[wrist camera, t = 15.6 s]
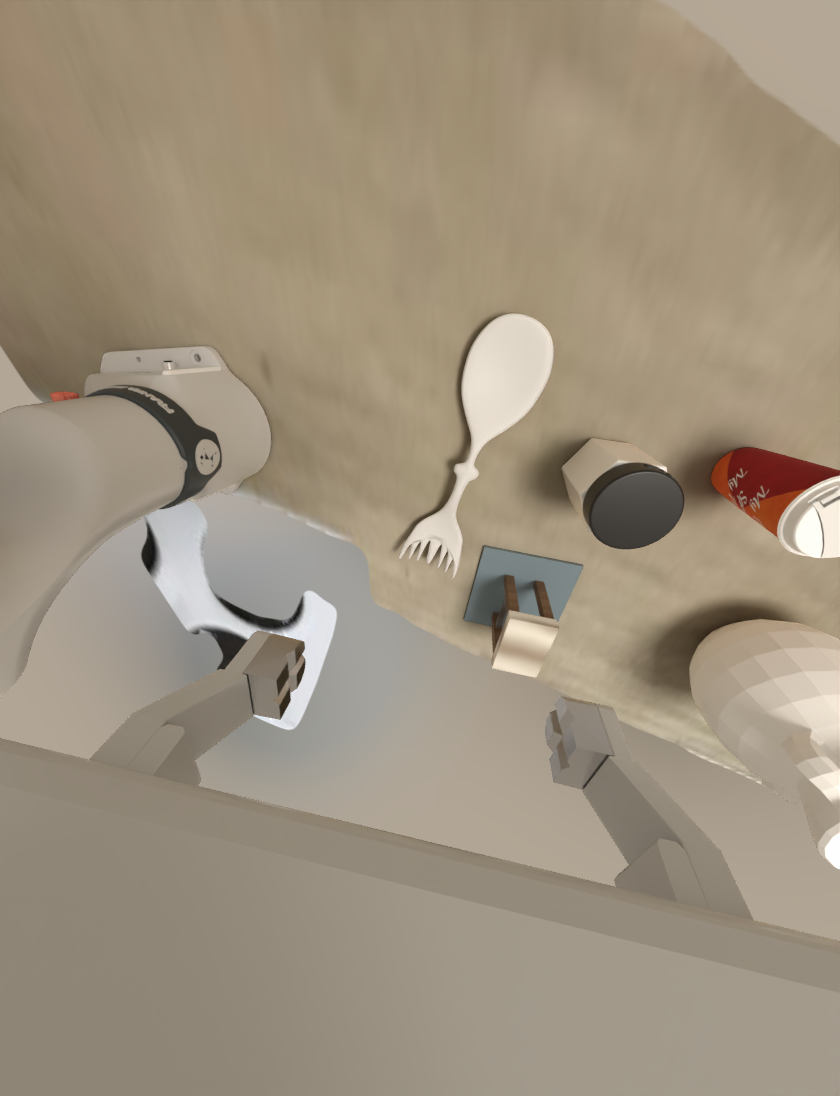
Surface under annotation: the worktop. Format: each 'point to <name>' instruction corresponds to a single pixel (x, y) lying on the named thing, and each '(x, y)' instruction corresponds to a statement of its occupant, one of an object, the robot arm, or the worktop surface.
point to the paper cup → (784, 498)
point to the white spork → (489, 413)
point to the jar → (622, 494)
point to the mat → (519, 583)
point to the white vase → (778, 712)
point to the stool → (522, 632)
